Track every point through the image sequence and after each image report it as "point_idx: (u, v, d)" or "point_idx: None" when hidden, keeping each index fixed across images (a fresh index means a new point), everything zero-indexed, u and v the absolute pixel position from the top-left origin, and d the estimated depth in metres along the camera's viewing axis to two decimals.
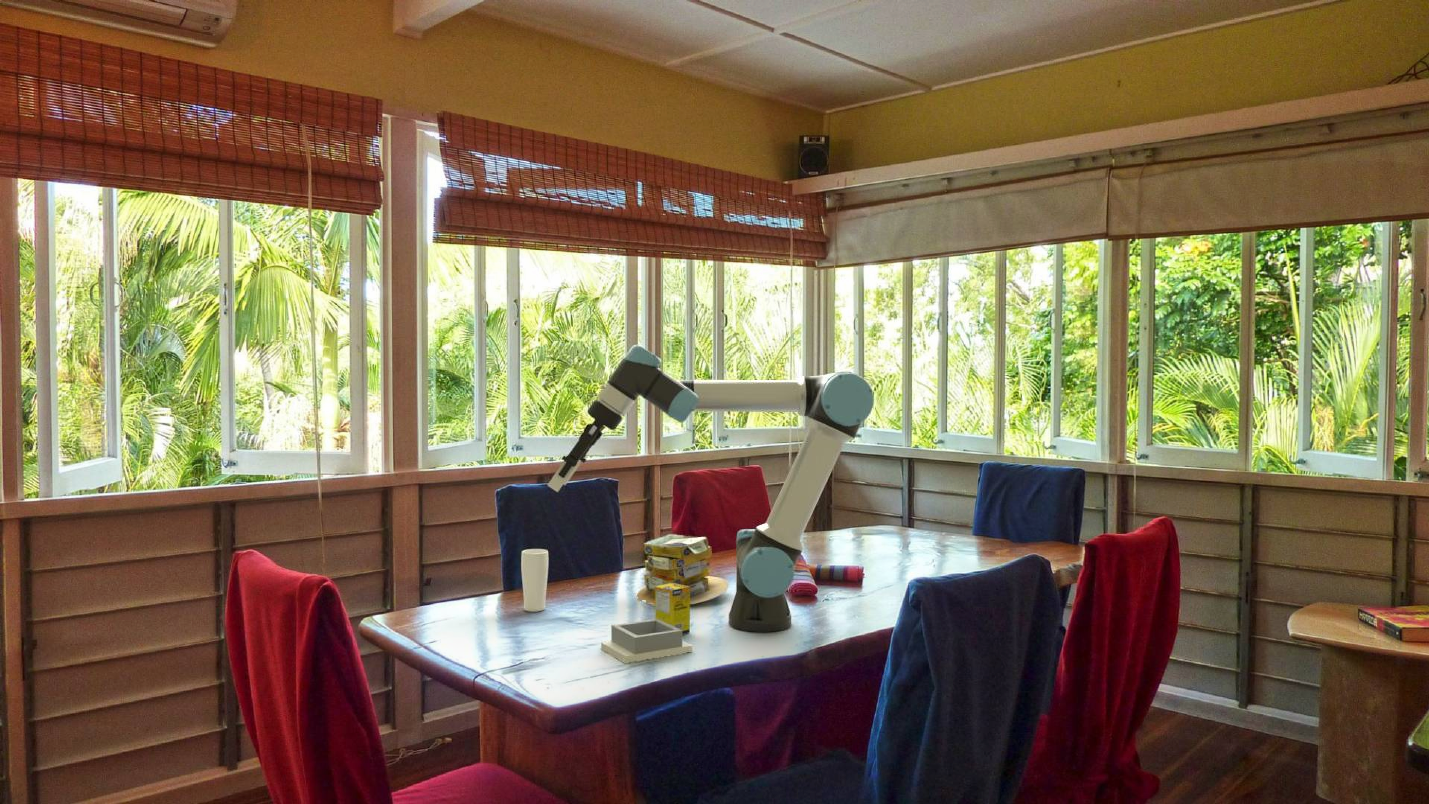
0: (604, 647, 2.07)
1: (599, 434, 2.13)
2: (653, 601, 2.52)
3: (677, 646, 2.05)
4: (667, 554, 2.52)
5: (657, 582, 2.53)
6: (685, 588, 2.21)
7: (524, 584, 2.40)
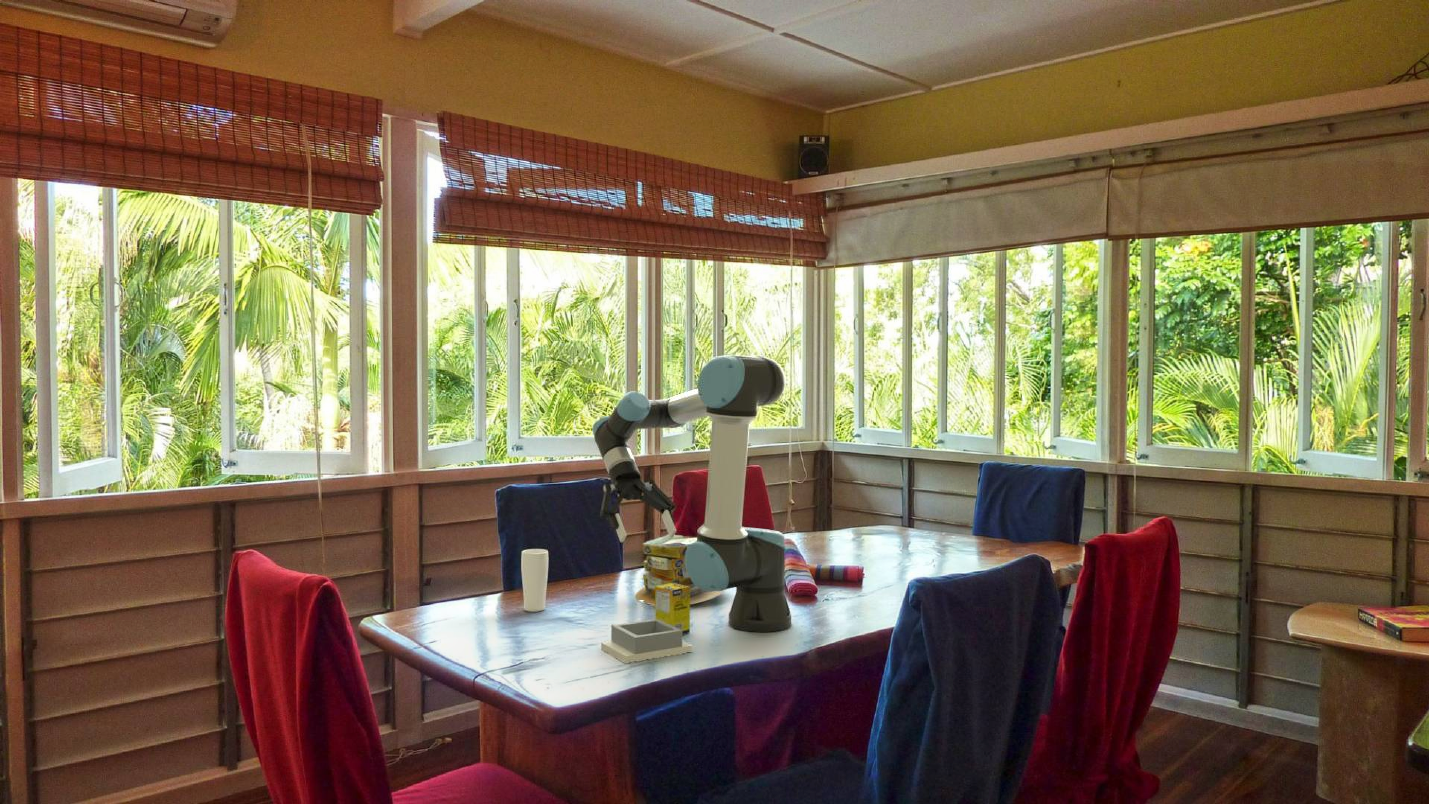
0: (604, 647, 2.07)
1: (625, 484, 2.38)
2: (652, 601, 2.51)
3: (677, 646, 2.05)
4: (665, 554, 2.52)
5: (656, 582, 2.53)
6: (685, 588, 2.21)
7: (524, 584, 2.40)
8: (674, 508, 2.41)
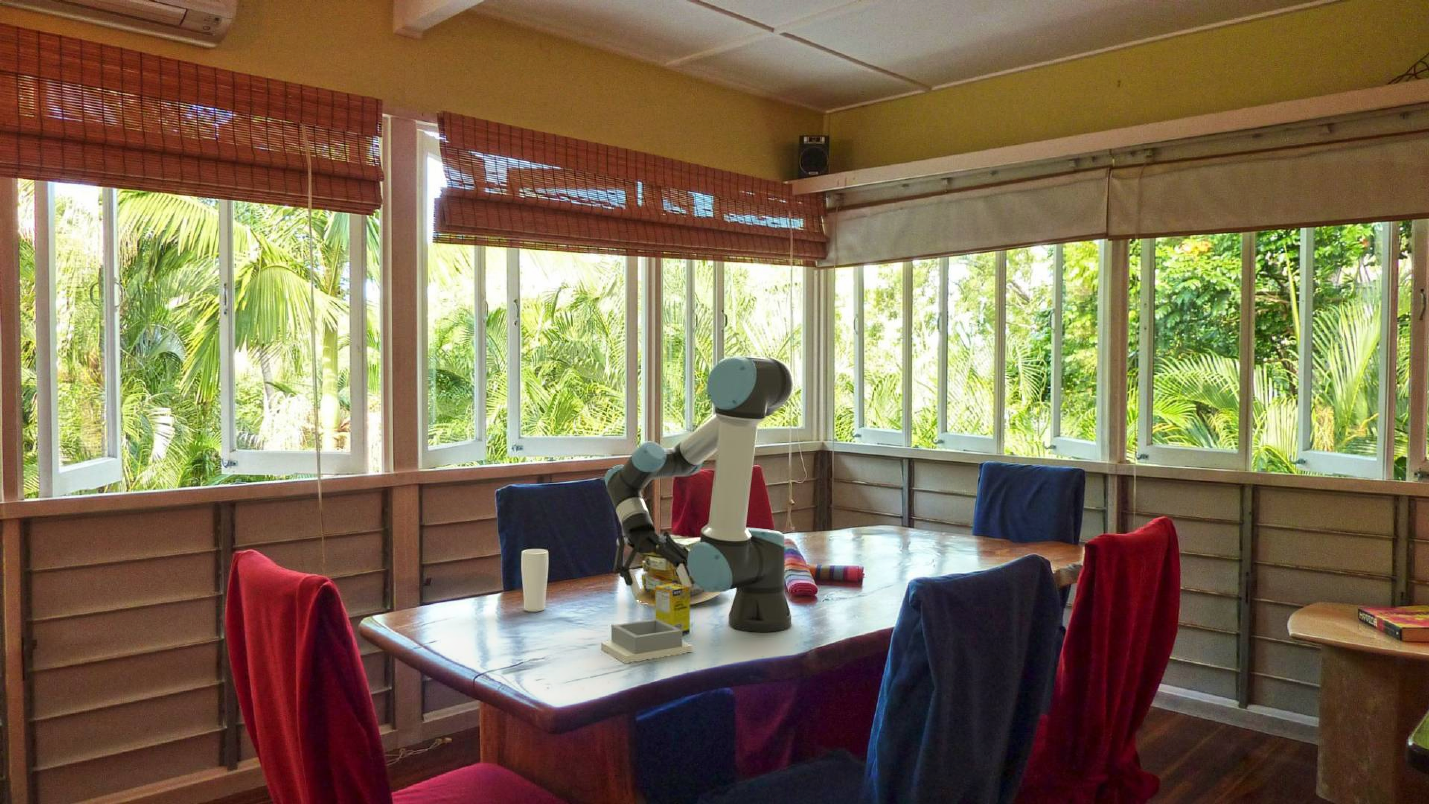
0: (604, 647, 2.07)
1: (638, 537, 2.32)
2: (650, 601, 2.51)
3: (677, 646, 2.05)
4: None
5: (655, 582, 2.53)
6: (685, 588, 2.21)
7: (524, 584, 2.40)
8: None
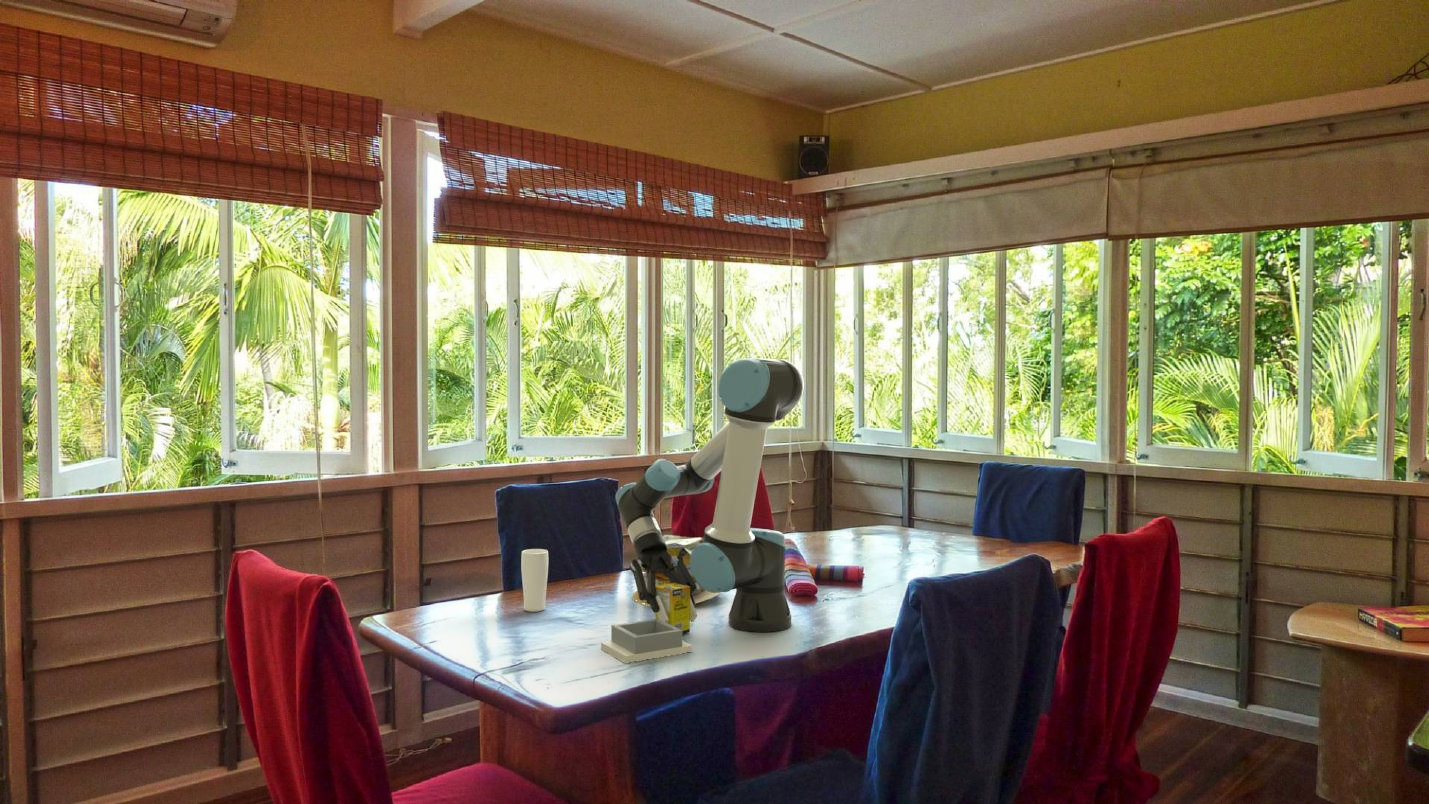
0: (604, 647, 2.07)
1: (651, 558, 2.27)
2: None
3: (677, 646, 2.05)
4: None
5: None
6: (685, 588, 2.21)
7: (524, 584, 2.40)
8: (694, 589, 2.27)
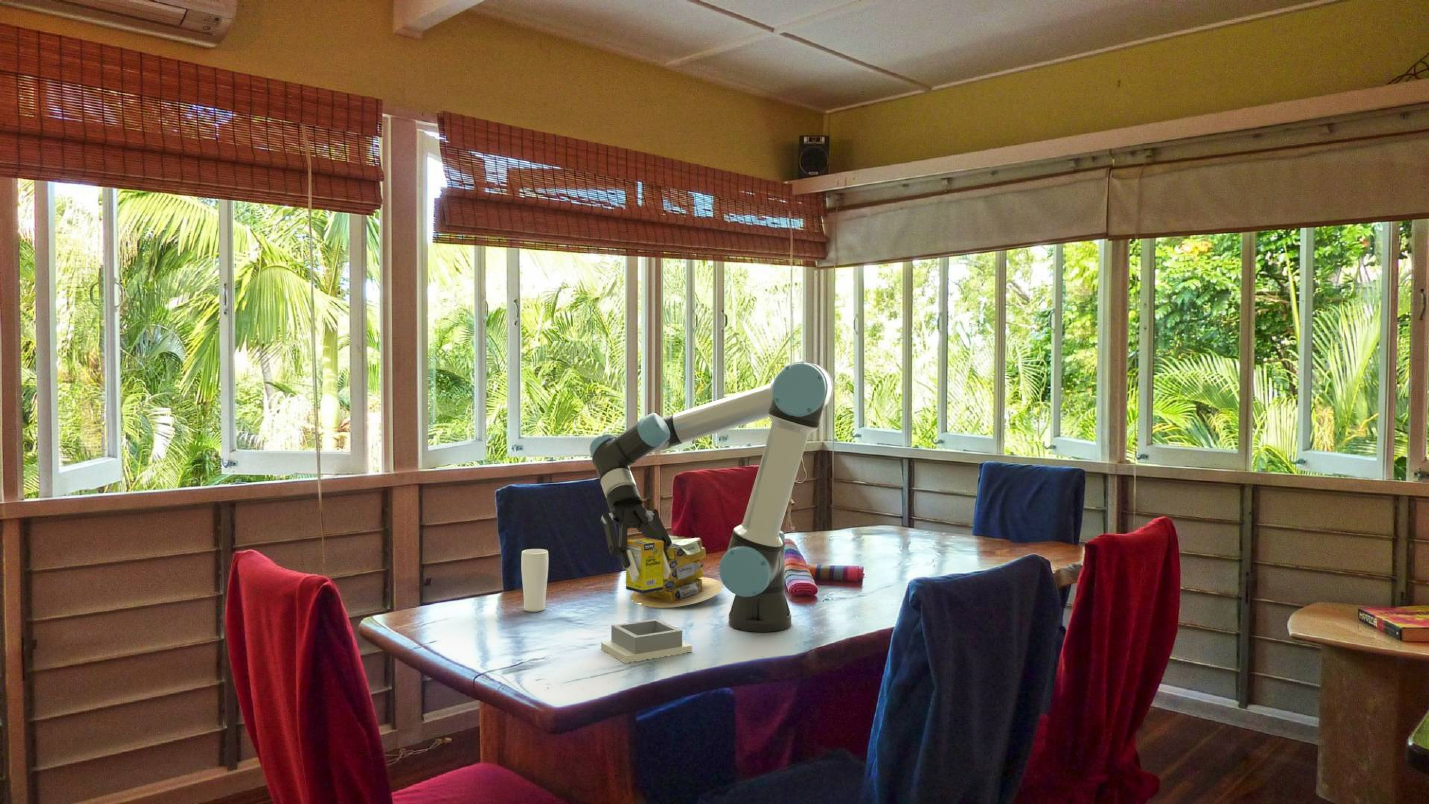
0: (604, 647, 2.07)
1: (623, 511, 2.13)
2: (646, 602, 2.50)
3: (677, 646, 2.05)
4: None
5: None
6: (658, 542, 2.07)
7: (524, 584, 2.40)
8: (669, 545, 2.13)
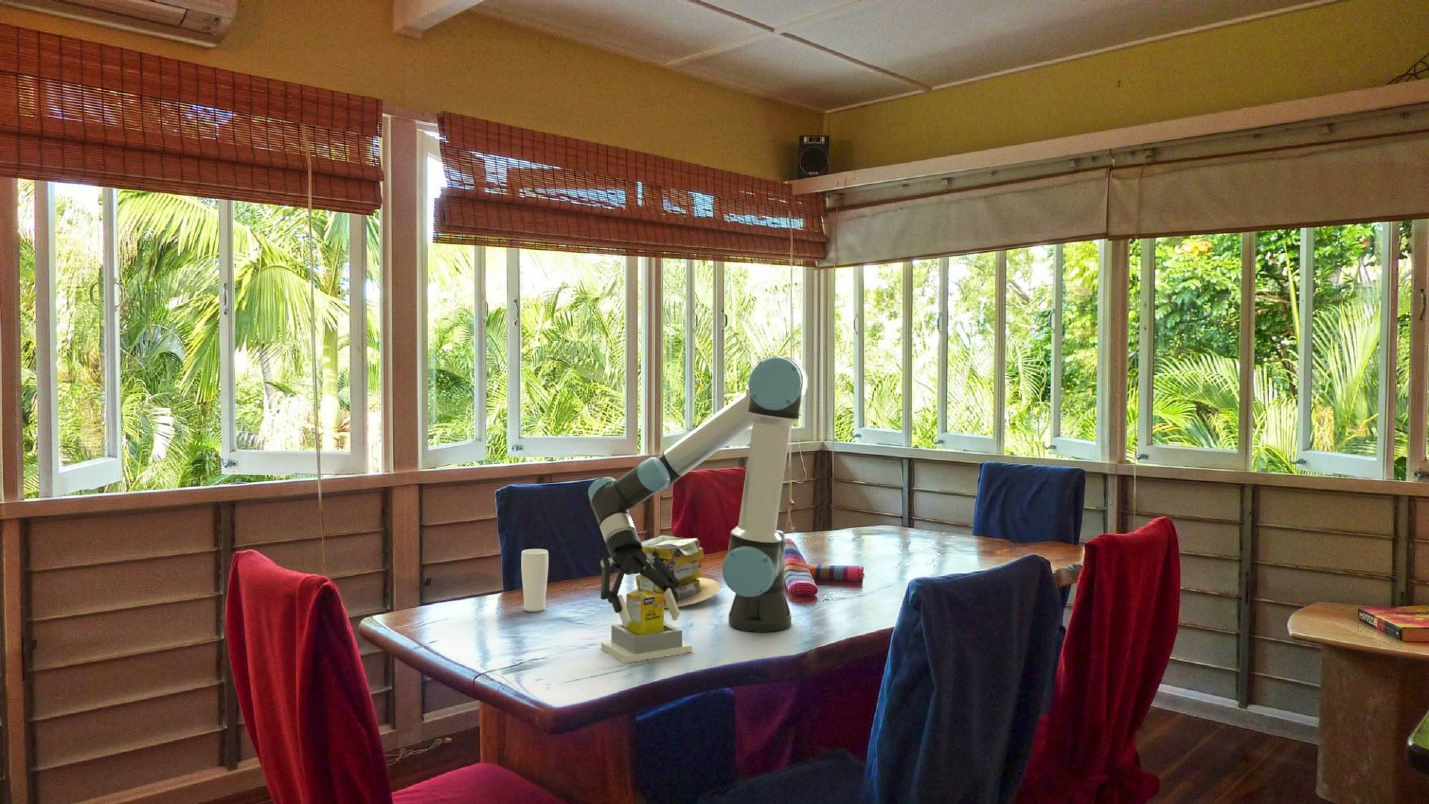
0: (604, 647, 2.07)
1: (624, 557, 2.12)
2: None
3: (677, 646, 2.05)
4: None
5: (648, 583, 2.51)
6: (658, 596, 2.06)
7: (524, 584, 2.40)
8: (677, 585, 2.13)
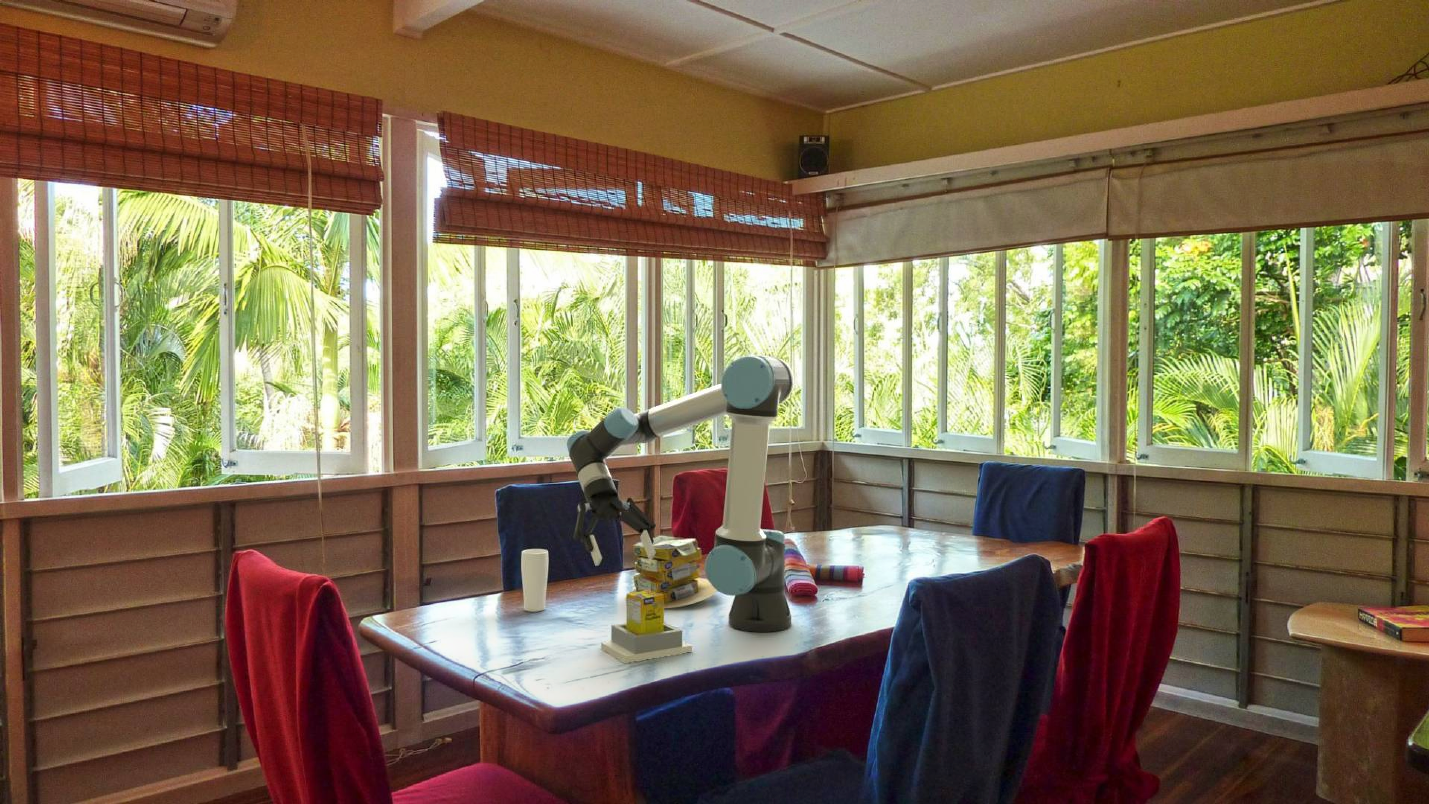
0: (604, 647, 2.07)
1: (600, 503, 2.23)
2: None
3: (677, 646, 2.05)
4: (655, 556, 2.49)
5: (646, 583, 2.51)
6: (658, 596, 2.06)
7: (524, 584, 2.40)
8: (653, 528, 2.26)
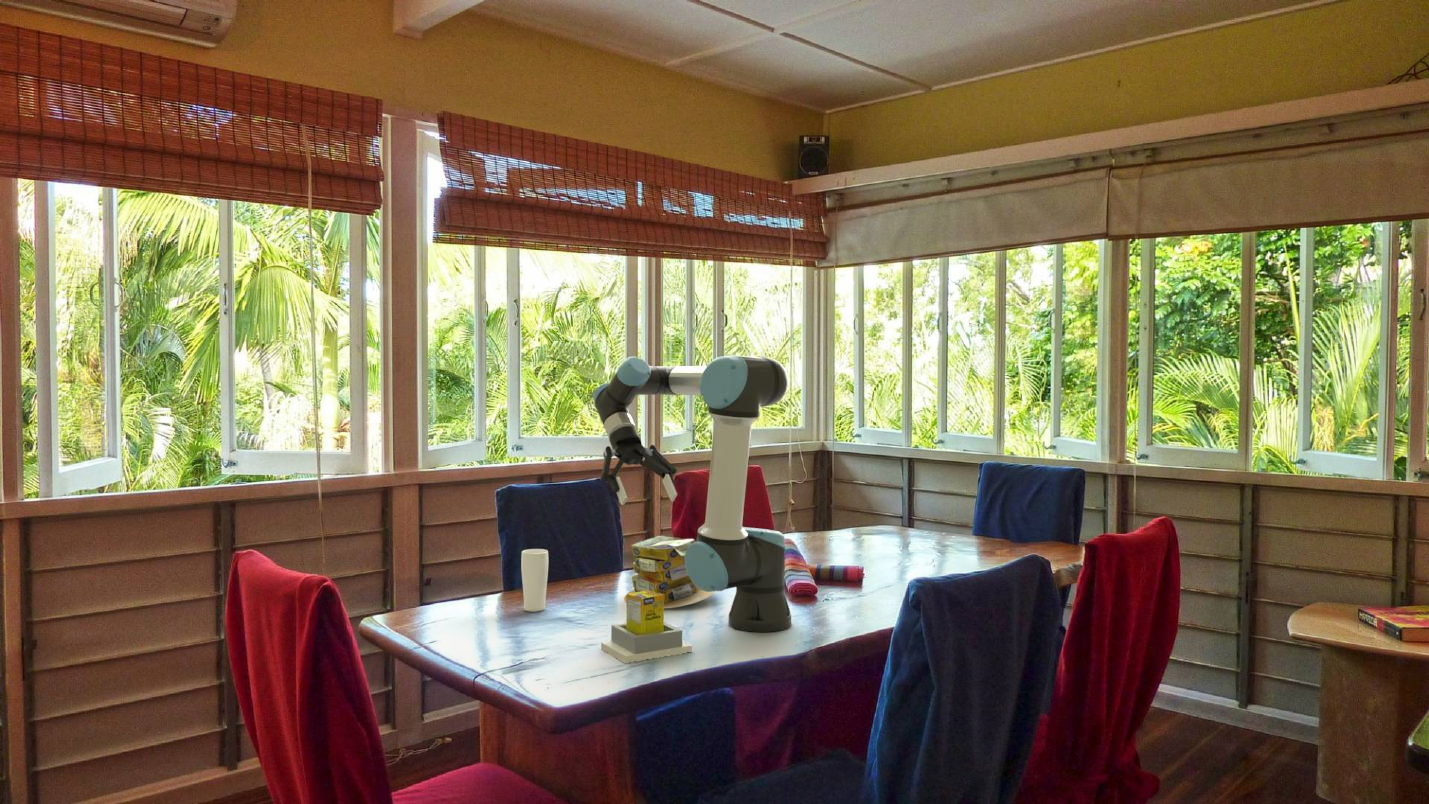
0: (604, 647, 2.07)
1: (625, 449, 2.38)
2: None
3: (677, 646, 2.05)
4: (653, 556, 2.49)
5: (644, 584, 2.50)
6: (658, 596, 2.06)
7: (524, 584, 2.40)
8: (675, 473, 2.40)
